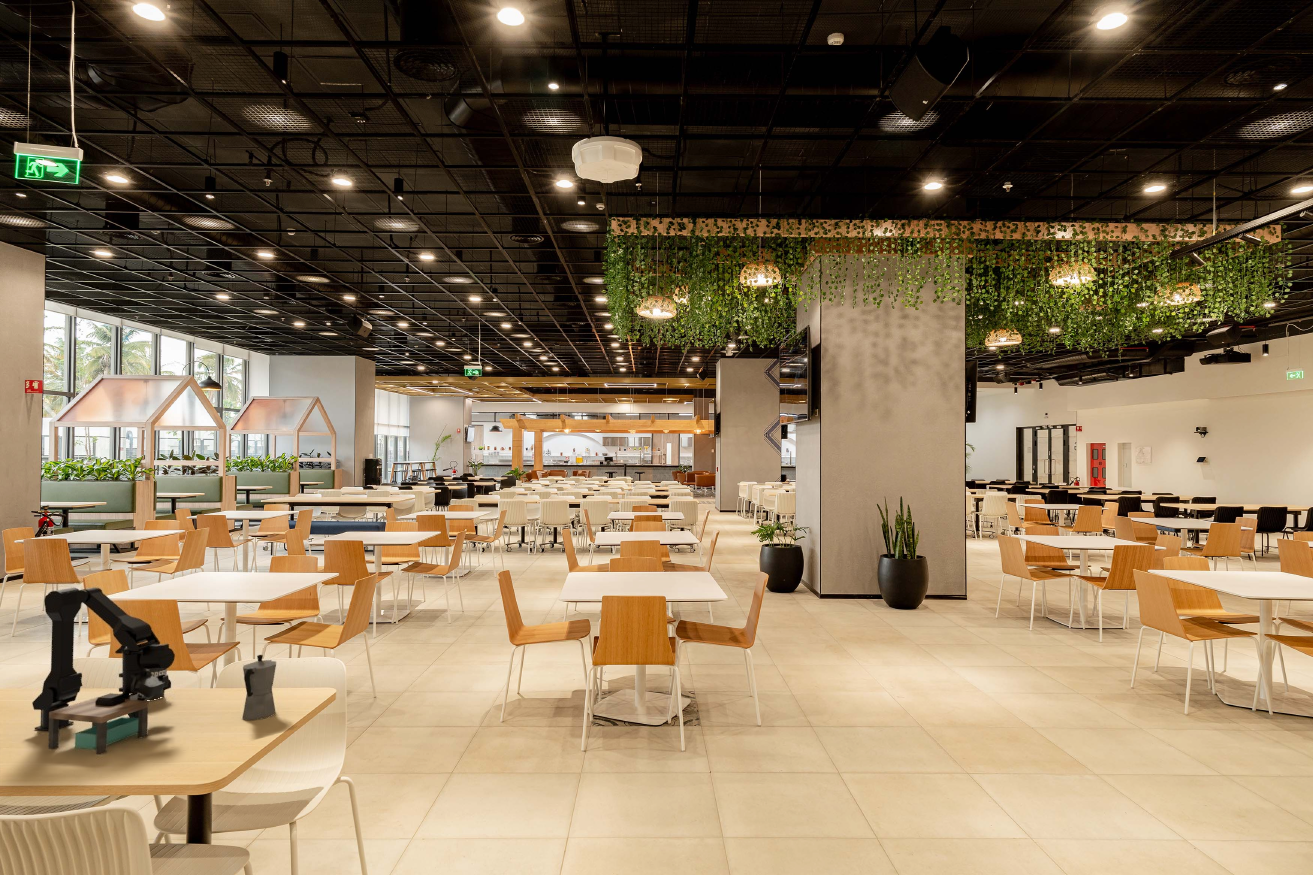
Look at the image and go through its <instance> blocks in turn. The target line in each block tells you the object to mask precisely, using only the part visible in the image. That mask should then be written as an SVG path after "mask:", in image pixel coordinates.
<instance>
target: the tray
mask: <svg viewBox="0 0 1313 875" xmlns="http://www.w3.org/2000/svg"><path fill="white" fill-rule="evenodd" d="M136 733H137V734H138V718H130V717H129V716H128V717H127V716H121V717H118V718H115V719H112V720H109V721H107V745H110V744H113V743H115V742H119V741H121V740H123V739H126V738H129V737H132V736H134V735H136ZM96 742H97V726H94V727H92V726H91V727H89V728H86V729H84V730H80V731H77V732H75V734H74V748H76V749H77V748H79V749H89V750H96Z"/></svg>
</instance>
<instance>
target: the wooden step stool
mask: <svg viewBox="0 0 1313 875" xmlns="http://www.w3.org/2000/svg"><path fill="white" fill-rule="evenodd" d="M98 697H99V696H96V697H94V698H90V699H88V700H84V701H80V702H77V703H74V704H71V705H69V706H67V707H64V708H61V709H58V710H55V711H51V712H49V731H48V742H47V744H48V746H47V748H48V749H49V750H55V749H57V748H59V746H60V745H59V742H60V741H59V738H60V737H59V736H60V728H59V719H62V720H69V721H73V722H84V723H91V728H92V727H94V726H97V742H96V749H95V751H96V752H95V753H96V755H102V754H106V753H107V722H109V721H112V720H114V719H117V718H120V717H125V716H126V715H128V714H129V713H132V712H135V711H138V710H139V713H138V733H137V738H139V739H143V738H146V737H148V726H149V725H148V723H149V722H148V721H149V720H148V717H149V715H148V714H149V701H140V700H128V699H125V702H124V703H121V704H118V705H115V706H99V705H95V702H96V700H97V698H98Z"/></svg>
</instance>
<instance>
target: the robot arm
mask: <svg viewBox="0 0 1313 875" xmlns="http://www.w3.org/2000/svg"><path fill="white" fill-rule="evenodd" d="M43 602H44V608H45V609H44V610H45V614H46V615H47V616H48V618H49V619H50V620H51V647H50V648H51V650H50V651H51V653H50V654H51V655H50V656H51V657H50V658H51V659H50V660H51V661H50V671H49V672H48V675H47V676H46V678H45V680H44V681H43V685H42V691H41V693H40V694H39V695H38V696H37V697H36V698H35V699H34V700H33V701H32V703H31V705H32V707H33V710H34V711H40V725H39V726H35V727H34V730H37V731H38V730H39V731H48V732H49V712H51V711H55V710H58V709H61V708H64V707H67V706H70V704H69V703H70V702H71V703H72V702H75V701H76V699H77V696H78V694H79V693H80V691H81V687H83V682H82V679H83V674H82V672H77V670H76V669H75V668H74V638H75V618H76V617H77V614H79V612H80V610H81V609H82V605H83V604H84V605H85V606H86V607H87V608H88V609H90V610H91V611H92V612H93V613H94V614H95V615H96V616H98V618H100V619H101V620H102V621H104V622H105V624H107V625H108V626H109V627H110V628H111V629H112V633H113V634H112V635H113V637H114V639H115V640H116V641H117V642H118V643H119V644H120V647H119V648H118V649H116V650H115V652H114V653H115V654H116V655H117V654H118V655H119V654H121V655H122V656H121V658H122V660H121V662H122V666H121V668H122V670H121V672H120V673H118V678H121V679H122V680H121V682H122V687H119V688H118V692H119V693H111V692H110V693H106V694H105V695H101V696H97V697H98V698H97V700H96V702H95V705H99V706H115V705H118V704H121V703H124V702H125V699H128V700H140V701H147V700H148V699H150V698H151V697H153V695H156V694H160V693H162V691H164V690H165V691H166V690H170V689H172V681H171V680H170V679H169V675H168V674H162V675H159V676H155V677H153V676H152V675H151V671H150V670H147V669H167V670H168V668H170V667H172V664H174V661H175V657H176V653H175V652H174V650H173V649H172V648H171V647H170V644H169V643H163V644H161V641H160V640H159V639H158V637H157V635H155V633H154V631H153V630H152V626H151V625H150V624H149V623H148V622H146V621H144V620H143V619H141V618H138V617H134V616H131V615H130V614H128V613H127V612H125V611H124V610H123V609H122V608H121V607H119V605H118V604H116V603H115V602H114V601H113V600H112V599H110V597H108V596H107V595H106V594H105V593H103V590H102V589H101V587H96V586H95V587H89V588H83V589H78V588H77V587H68V588H62V589H57V590H52V591H50V592H48V594H47V595H45V597H44V601H43ZM138 713H139V710H138V711H135V712H132V713H129V714H127V716H128V717H130V718H138ZM74 722H75V721H73V720H62V719H59V729H61V728H64V727H66V726H67V727H68V726H70V725H73V724H75V723H74Z"/></svg>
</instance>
